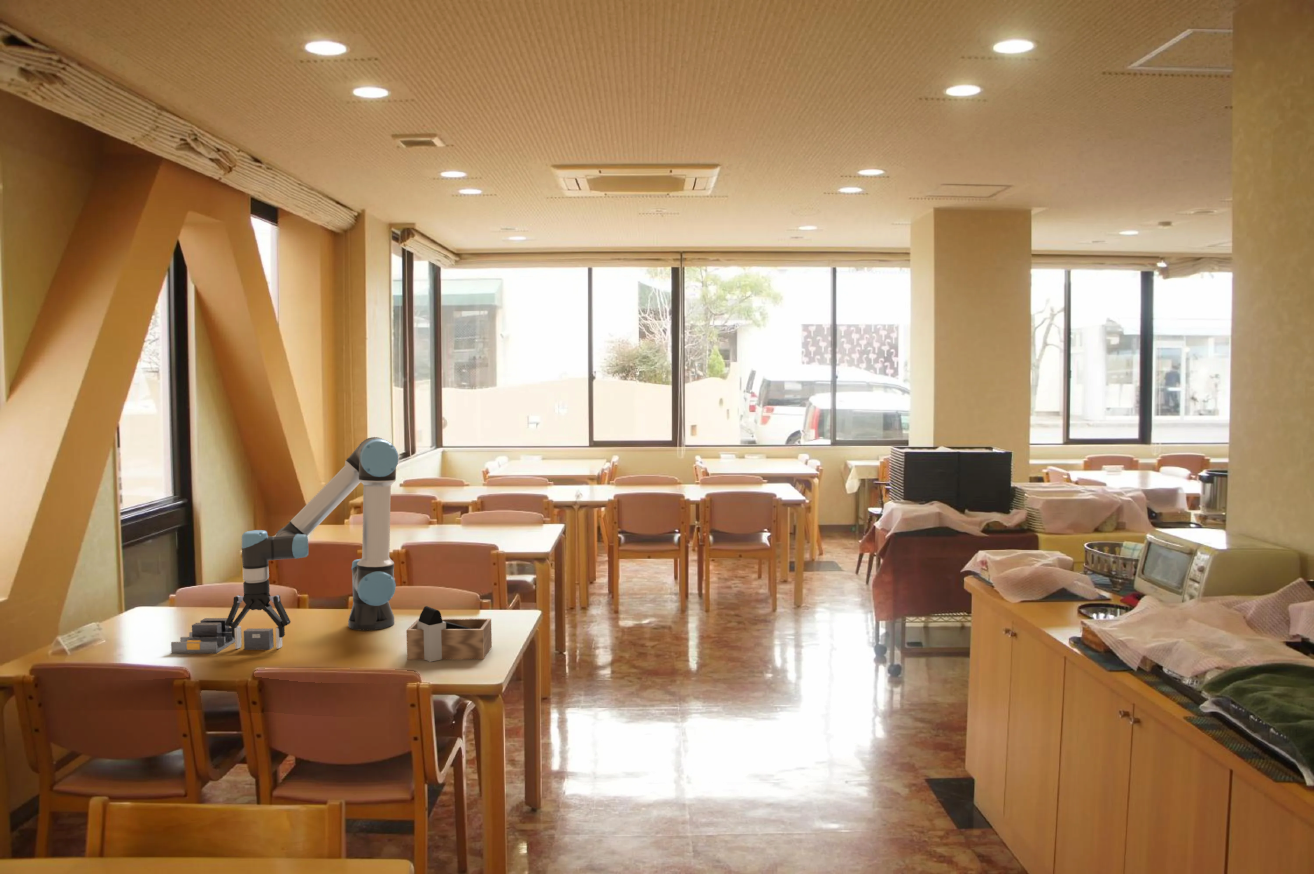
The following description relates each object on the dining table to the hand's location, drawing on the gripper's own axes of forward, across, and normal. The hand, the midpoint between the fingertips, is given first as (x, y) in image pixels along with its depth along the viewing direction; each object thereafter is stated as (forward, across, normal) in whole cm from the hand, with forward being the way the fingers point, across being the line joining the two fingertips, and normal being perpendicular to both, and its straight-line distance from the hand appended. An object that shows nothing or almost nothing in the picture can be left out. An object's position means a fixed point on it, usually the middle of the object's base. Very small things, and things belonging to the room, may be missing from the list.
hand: (258, 647), depth 300 cm
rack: (0, +18, -3) cm, 18 cm away
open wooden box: (0, -62, +6) cm, 62 cm away
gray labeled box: (0, 0, 0) cm, 0 cm away
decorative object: (0, -62, +6) cm, 62 cm away
